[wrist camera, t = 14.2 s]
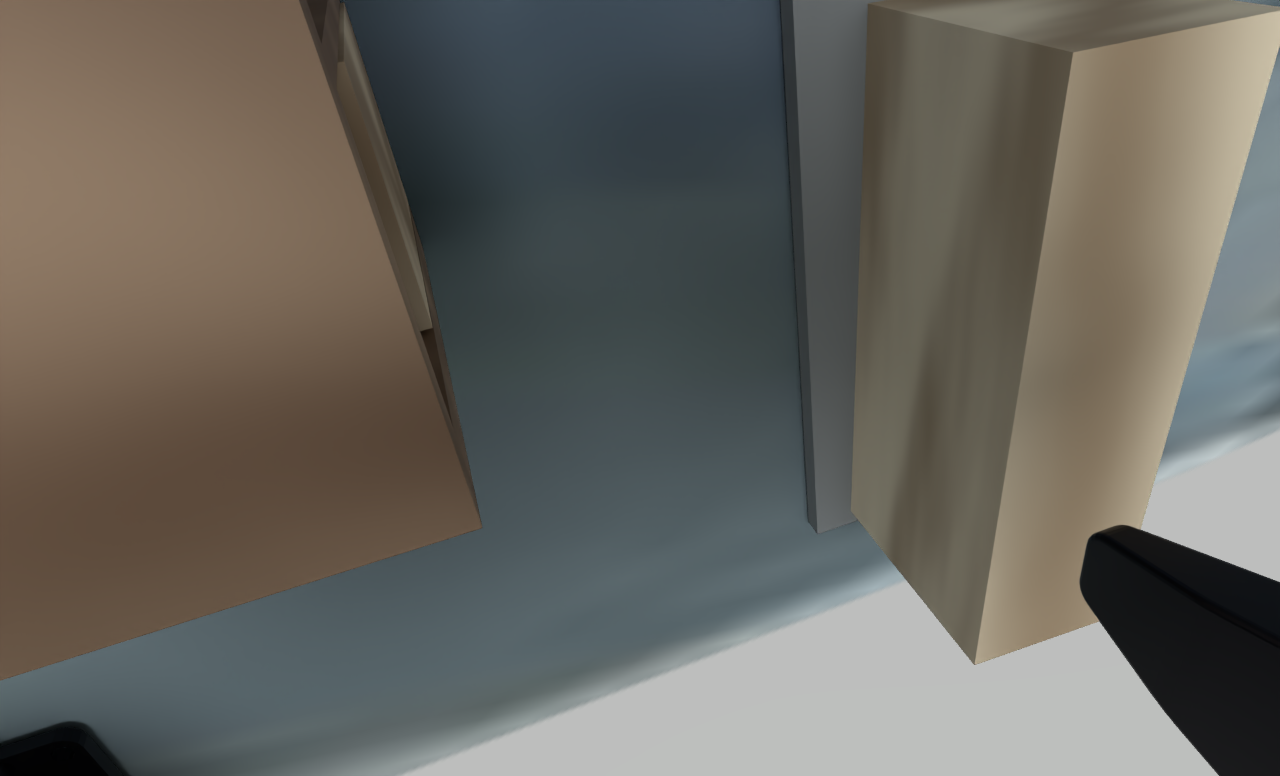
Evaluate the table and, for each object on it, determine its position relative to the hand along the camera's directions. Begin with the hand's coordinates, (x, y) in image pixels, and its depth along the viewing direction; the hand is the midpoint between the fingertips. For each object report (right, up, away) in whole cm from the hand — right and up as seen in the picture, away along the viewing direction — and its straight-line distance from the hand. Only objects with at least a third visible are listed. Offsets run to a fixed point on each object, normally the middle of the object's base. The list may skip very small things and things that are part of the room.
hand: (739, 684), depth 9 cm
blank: (+6, +6, +12) cm, 15 cm away
